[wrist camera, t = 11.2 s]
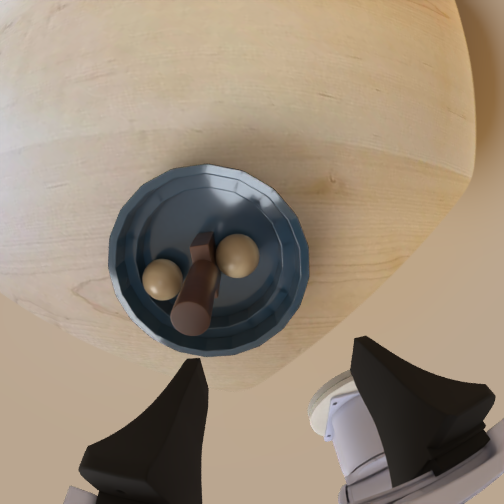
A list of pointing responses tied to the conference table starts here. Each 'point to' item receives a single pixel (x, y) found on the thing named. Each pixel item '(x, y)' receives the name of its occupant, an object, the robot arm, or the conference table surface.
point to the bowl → (222, 224)
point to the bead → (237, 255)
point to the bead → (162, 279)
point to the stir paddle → (198, 288)
